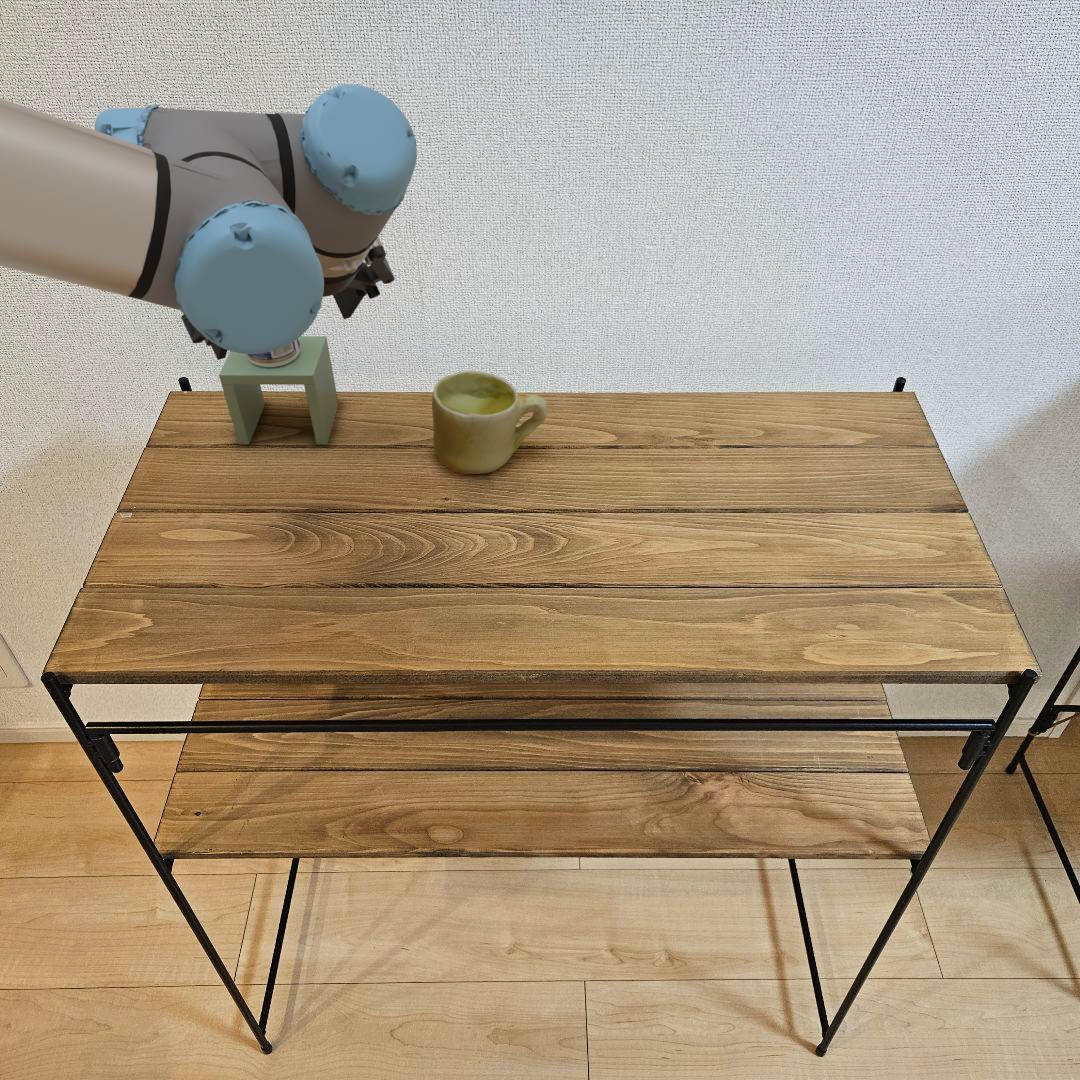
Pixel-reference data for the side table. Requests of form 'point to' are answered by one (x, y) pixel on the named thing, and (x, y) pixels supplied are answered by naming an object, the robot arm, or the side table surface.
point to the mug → (480, 421)
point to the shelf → (304, 370)
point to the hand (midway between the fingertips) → (280, 325)
